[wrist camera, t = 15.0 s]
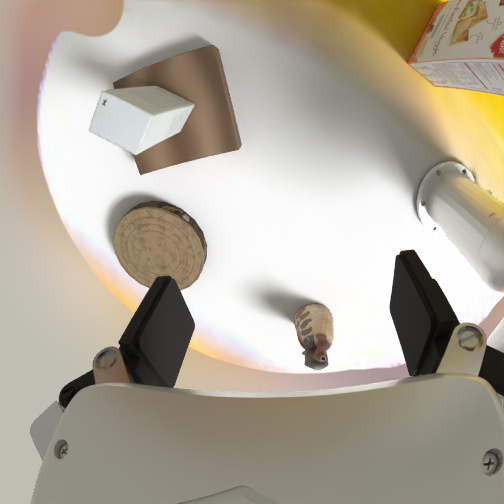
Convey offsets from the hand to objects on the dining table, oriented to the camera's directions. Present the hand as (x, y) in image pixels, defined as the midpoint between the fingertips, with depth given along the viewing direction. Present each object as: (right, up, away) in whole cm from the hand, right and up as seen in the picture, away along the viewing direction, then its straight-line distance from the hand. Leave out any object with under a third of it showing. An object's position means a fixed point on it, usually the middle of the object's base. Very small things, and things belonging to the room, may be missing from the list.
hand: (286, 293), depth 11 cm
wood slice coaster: (-16, +3, +34) cm, 38 cm away
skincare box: (-12, +19, +18) cm, 29 cm away
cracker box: (+25, +31, +12) cm, 42 cm away
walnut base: (-11, +21, +22) cm, 32 cm away
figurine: (+10, -10, +40) cm, 42 cm away
